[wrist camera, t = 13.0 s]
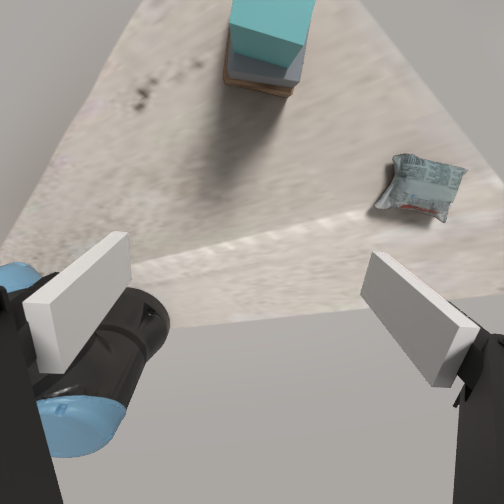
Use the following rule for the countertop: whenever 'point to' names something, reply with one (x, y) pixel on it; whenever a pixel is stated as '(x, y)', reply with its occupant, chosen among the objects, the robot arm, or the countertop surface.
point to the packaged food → (422, 186)
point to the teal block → (270, 29)
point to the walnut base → (253, 85)
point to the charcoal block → (265, 69)
